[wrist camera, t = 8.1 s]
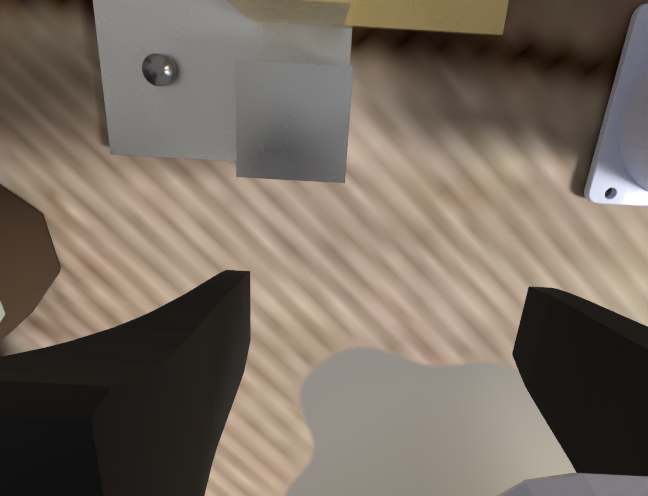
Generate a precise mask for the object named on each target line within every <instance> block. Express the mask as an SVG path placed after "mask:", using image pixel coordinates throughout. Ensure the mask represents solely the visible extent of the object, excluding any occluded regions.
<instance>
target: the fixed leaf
mask: <svg viewBox="0 0 648 496" xmlns="http://www.w3.org/2000/svg"><path fill="white" fill-rule="evenodd" d="M93 7H94V15H95V24H96V33H97V41H98V50H99V58H100V67H101V76H102V84H103V93H104V102H105V110H106V119H107V127H108V136H109V145H110V153H111V154H116V155H134V156H151V157H168V158H186V159H203V160H220V161H236V167H237V177H248V178H266V179H283V180H301V181H318V182H336V183H345V173H346V159H347V146H348V132H349V119H350V105H351V91H352V78H353V67H352V66H350V53H351V39H352V27H337V26H321V25H304V24H288V23H271V22H255V21H252V20H251V19H250V18H248V17H247V16H246V15H244V14H243V13H241V12H240V11H239V10H237V9H236V8H235V7H233V6H232V5H231V4H229V3H228V2H226V1H225V0H93Z"/></svg>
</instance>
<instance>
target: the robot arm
mask: <svg viewBox="0 0 648 496" xmlns="http://www.w3.org/2000/svg"><path fill="white" fill-rule="evenodd" d="M609 188H612V192H611V193H610V195H608V196H607V197H605V192H606V190H607V189H609ZM584 196H585V198H586V199H587V200H588V201H590V202H593V203H599V204H616V205H634V206H648V3H646V4H642V5H641V6H639V7H638V8H637V9H636V10H635V11H634V13H633V15H632V17H631V21H630V24H629V28H628V32H627V35H626V39H625V43H624V46H623V50H622V54H621V57H620V61H619V65H618V68H617V72H616V76H615V79H614V83H613V87H612V90H611V94H610V98H609V101H608V105H607V109H606V112H605V116H604V120H603V123H602V127H601V131H600V134H599V138H598V142H597V145H596V149H595V153H594V156H593V160H592V164H591V168H590V171H589V175H588V179H587V182H586V186H585V190H584ZM249 345H250V271H235V270H225V271H223V272H221V273H219V274H217V275H216V276H214V277H212V278H211V279H209V280H207V281H206V282H204V283H203V284H201V285H199V286H198V287H196V288H194V289H193V290H191V291H189V292H188V293H186V294H184V295H182V296H181V297H179V298H177V299H175V300H173V301H171V302H169V303H167V304H165V305H164V306H162V307H160V308H158V309H156V310H154V311H152V312H150V313H148V314H145V315H143V316H141V317H139V318H136V319H134V320H131V321H129V322H126V323H124V324H121V325H119V326H116V327H114V328H111V329H108V330H105V331H101V332H98V333H95V334H92V335H89V336H86V337H82V338H79V339H76V340H73V341H69V342H66V343H62V344H58V345H54V346H50V347H46V348H41V349H37V350H32V351H27V352H23V353H18V354H13V355H7V356H2V357H0V496H204V495H205V491H206V486H207V482H208V478H209V474H210V470H211V466H212V462H213V459H214V456H215V452H216V449H217V446H218V443H219V440H220V437H221V435H222V432H223V429H224V426H225V423H226V421H227V418H228V415H229V412H230V410H231V407H232V404H233V401H234V399H235V396H236V393H237V390H238V387H239V384H240V382H241V379H242V376H243V373H244V369H245V364H246V360H247V355H248V350H249ZM512 354H513V357H514V360H515V362H516V365H517V368H518V370H519V373H520V375H521V377H522V379H523V382H524V384H525V386H526V388H527V390H528V392H529V394H530V395H531V397H532V399H533V400H534V402H535V404H536V405H537V407H538V409H539V410H540V412H541V414H542V416H543V417H544V419H545V420H546V422H547V424H548V425H549V427H550V429H551V430H552V432H553V434H554V435H555V437H556V439H557V440H558V442H559V443H560V445H561V447H562V448H563V450H564V452H565V453H566V455H567V457H568V458H569V460H570V461H571V463H572V465H573V467H574V469H575V470H576V472H577V473H570V474H563V475H556V476H549V477H542V478H535V479H528V480H524V481H522V482H521V483H519V484H517V485H515V486H514V487H512V488H510V489H508V490H506V491H505V492H503V493H501V494H500V495H498V496H648V327H647V326H645V325H643V324H640V323H638V322H636V321H633V320H631V319H629V318H626V317H624V316H622V315H620V314H617V313H615V312H613V311H611V310H608V309H606V308H604V307H602V306H599V305H597V304H595V303H592V302H590V301H588V300H585V299H583V298H581V297H578V296H576V295H573V294H571V293H568V292H565V291H562V290H559V289H555V288H545V287H529V288H528V292H527V296H526V300H525V304H524V308H523V312H522V317H521V321H520V325H519V329H518V333H517V337H516V341H515V345H514V349H513V353H512Z"/></svg>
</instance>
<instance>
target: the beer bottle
mask: <svg viewBox="0 0 648 496" xmlns="http://www.w3.org/2000/svg"><path fill="white" fill-rule="evenodd" d="M60 268H61V267H60V264H59V261H58V258H57V255H56V252H55V248H54V245H53V242H52V239H51V236H50V233H49V230H48V227H47V224H46V221H45V218H44V215H43V214H42V213H41V212H40V211H38V210H37V209H35V208H34V207H32V206H31V205H29V204H28V203H26V202H25V201H23V200H22V199H20V198H19V197H18V196H16V195H15V194H13V193H12V192H10V191H9V190H7V189H6V188H4V187H3V186H1V185H0V340H2V339H3V338H4V337H5V336H7V335H8V334H9V333H10V332H11V331H13V330H14V329H15V328H16V327H17V326H18V325H19V324H20V323H21V322H22V321H23V320H24V319H25V318H27V317H28V316H29V315H30V314H31V313H32V312H33V311H34V309H35V308H36V306H37V305H38V303H39V302H40V300H41V299H42V297H43V296H44V294H45V293H46V292H47V290H48V289H49V287H50V286H51V284H52V283H53V281H54V280H55V278H56V277H57V275H58V274H59V273H60Z"/></svg>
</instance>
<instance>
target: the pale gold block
mask: <svg viewBox="0 0 648 496" xmlns="http://www.w3.org/2000/svg"><path fill="white" fill-rule="evenodd" d="M225 1H226V2H228V3H229V4H231V5H232V6H233V7H235V8H236V9H237V10H239V11H240V12H241V13H243V14H244V15H246V16H247V17H248V18H250V19H251V20H252V21H255V22H271V23H288V24H304V25H321V26H337V27H354V28H370V29H387V30H403V31H420V32H436V33H453V34H469V35H486V36H500V35H503V30H504V25H505V19H506V13H507V8H508V2H509V0H225Z"/></svg>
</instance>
